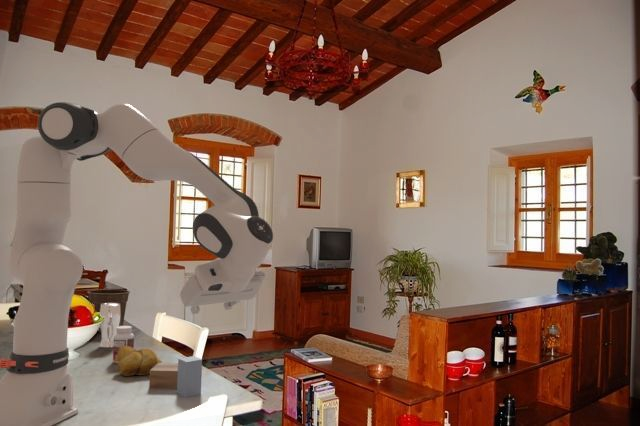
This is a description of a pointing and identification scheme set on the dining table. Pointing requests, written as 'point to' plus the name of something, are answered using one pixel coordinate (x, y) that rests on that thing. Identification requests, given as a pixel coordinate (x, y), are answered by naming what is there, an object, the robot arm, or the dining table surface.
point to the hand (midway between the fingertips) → (210, 309)
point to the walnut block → (164, 376)
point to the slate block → (189, 376)
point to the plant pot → (110, 300)
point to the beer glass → (109, 323)
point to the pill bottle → (122, 340)
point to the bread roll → (136, 361)
